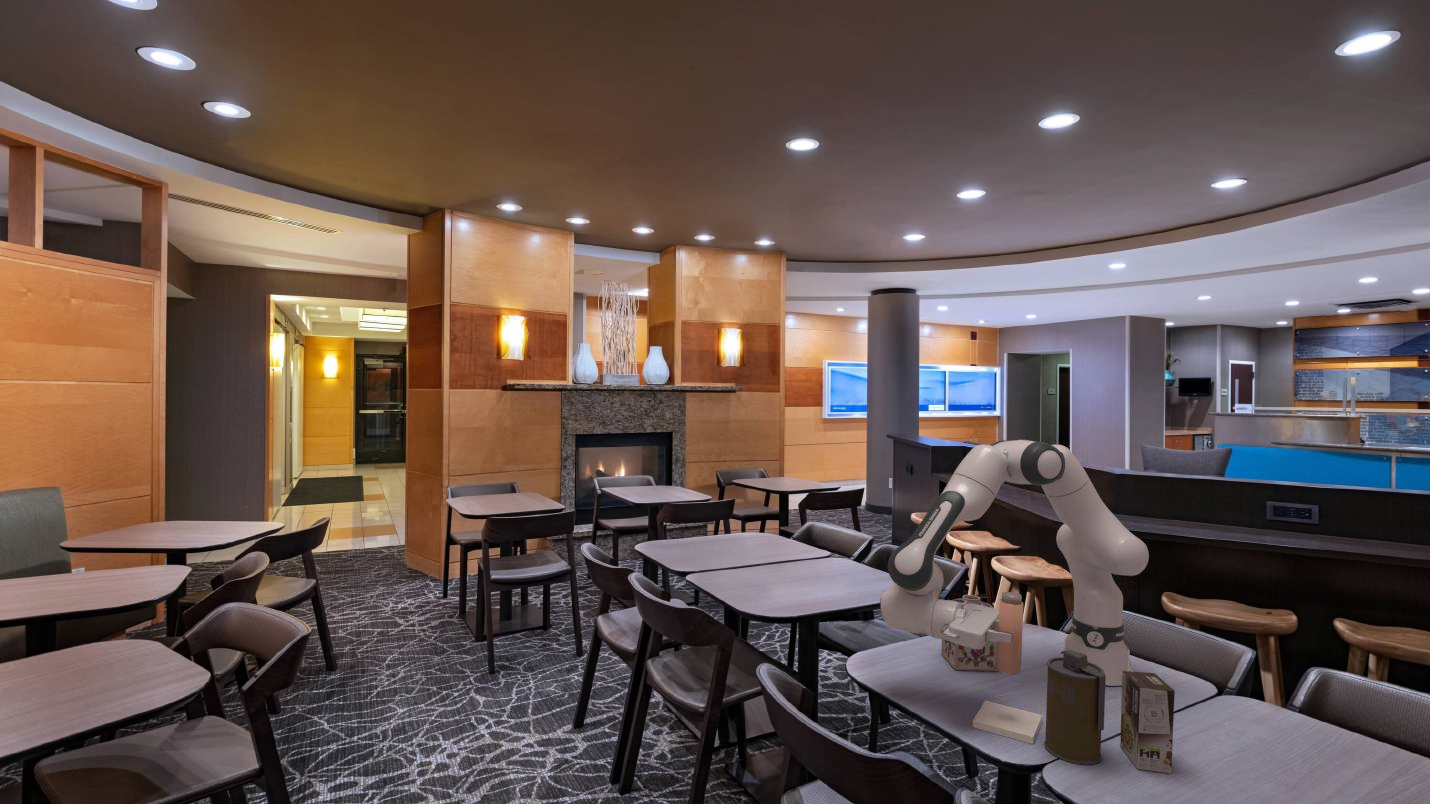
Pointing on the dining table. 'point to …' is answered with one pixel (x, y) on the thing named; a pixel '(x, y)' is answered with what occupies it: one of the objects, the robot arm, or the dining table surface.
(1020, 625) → the shaker
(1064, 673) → the canister
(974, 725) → the board
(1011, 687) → the dining table surface
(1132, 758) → the coffee box
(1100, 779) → the dining table surface
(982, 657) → the decorative jar
